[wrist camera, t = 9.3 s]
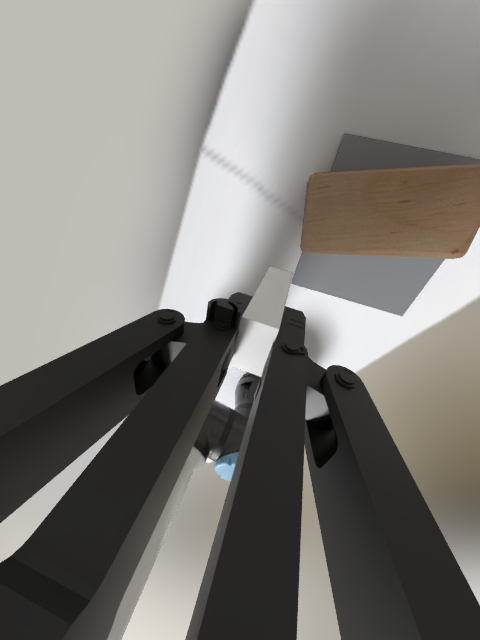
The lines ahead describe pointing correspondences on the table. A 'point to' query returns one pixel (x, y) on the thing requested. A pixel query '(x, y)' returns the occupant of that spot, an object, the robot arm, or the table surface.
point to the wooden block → (393, 212)
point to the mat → (374, 271)
